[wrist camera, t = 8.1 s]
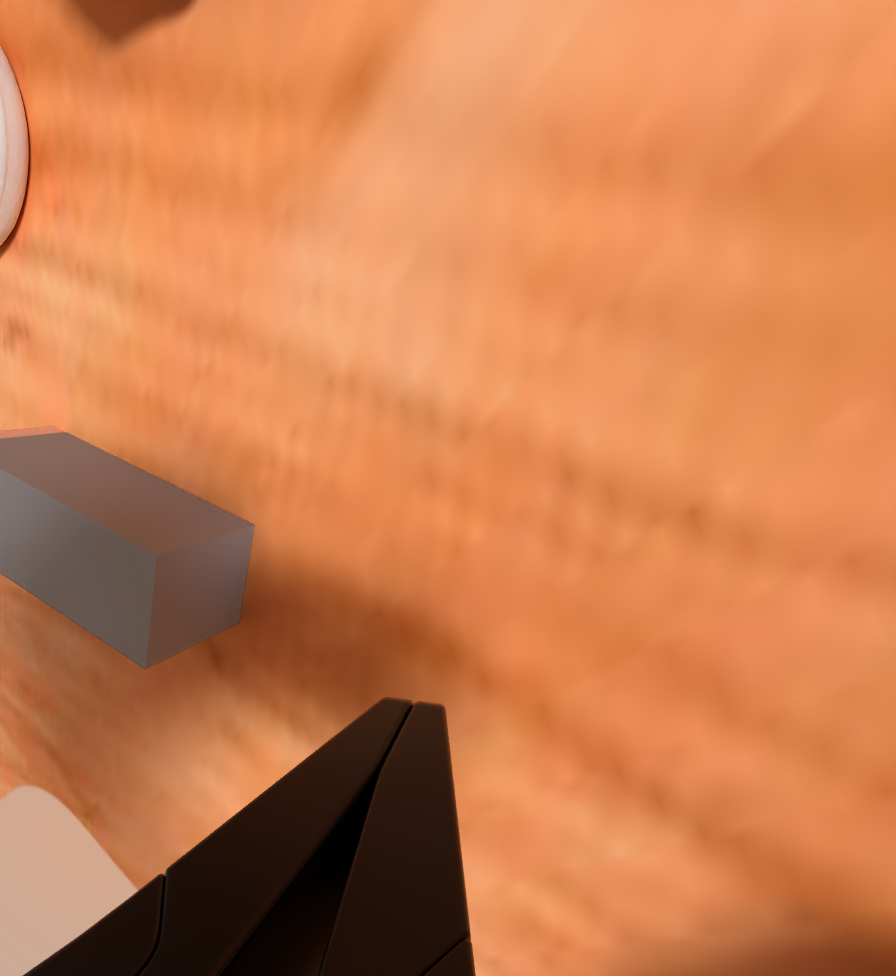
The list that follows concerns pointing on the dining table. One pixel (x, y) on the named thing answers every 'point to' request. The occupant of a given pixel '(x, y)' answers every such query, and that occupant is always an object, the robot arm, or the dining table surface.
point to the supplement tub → (11, 149)
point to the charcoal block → (117, 546)
